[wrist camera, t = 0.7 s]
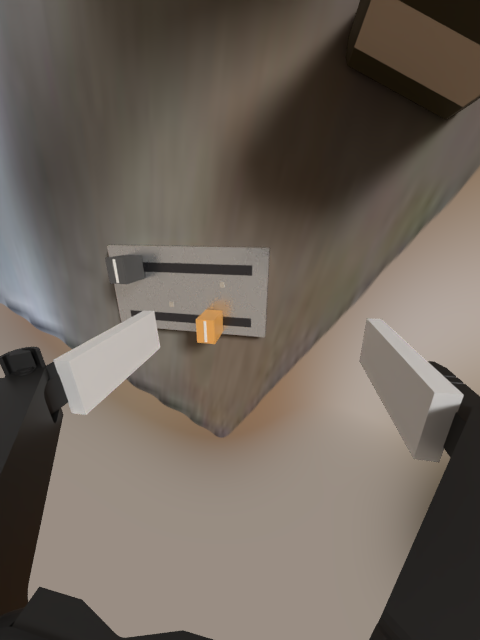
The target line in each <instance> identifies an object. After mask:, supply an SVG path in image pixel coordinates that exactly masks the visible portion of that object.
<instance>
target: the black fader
mask: <svg viewBox="0 0 480 640" xmlns="http://www.w3.org/2000/svg"><path fill="white" fill-rule="evenodd" d="M105 260H106V266H107V271H108V276H109V281H110V284H130V283H133V282H136V281H139V280H142V279H145V276H144V269H143V262H142V255H120V256H113V257H106V258H105Z"/></svg>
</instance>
